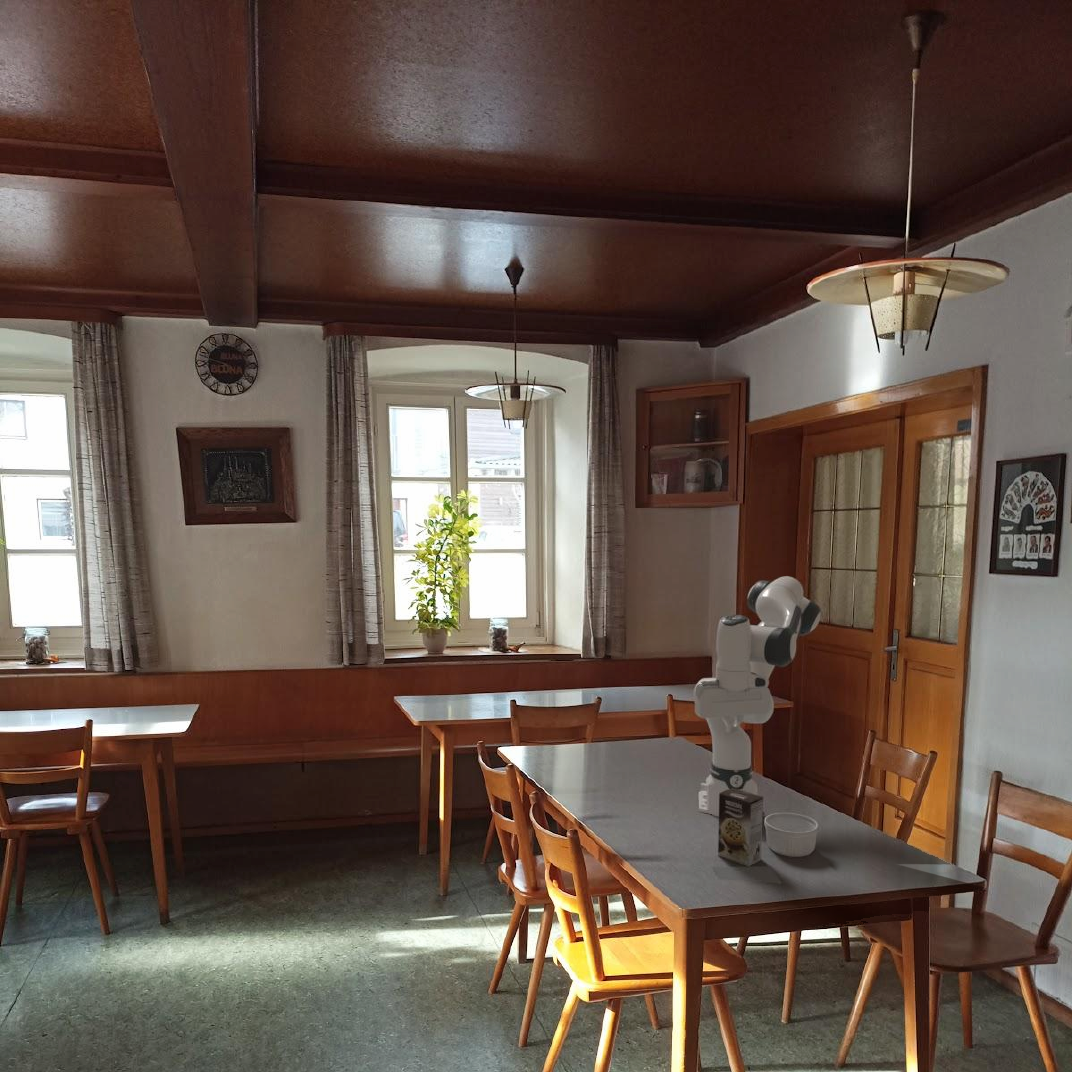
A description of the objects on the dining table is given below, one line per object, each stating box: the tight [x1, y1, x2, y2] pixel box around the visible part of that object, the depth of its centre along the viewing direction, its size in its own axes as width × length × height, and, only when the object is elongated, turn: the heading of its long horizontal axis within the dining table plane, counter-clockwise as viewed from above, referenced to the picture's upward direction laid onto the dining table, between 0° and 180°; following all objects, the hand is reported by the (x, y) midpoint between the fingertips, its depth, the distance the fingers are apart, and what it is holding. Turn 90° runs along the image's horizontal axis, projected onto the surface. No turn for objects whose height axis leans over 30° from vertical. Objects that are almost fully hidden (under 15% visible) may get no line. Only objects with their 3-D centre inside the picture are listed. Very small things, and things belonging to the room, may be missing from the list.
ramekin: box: [763, 812, 819, 858], centre depth 219 cm, size 13×13×7 cm
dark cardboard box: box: [717, 788, 764, 867], centre depth 213 cm, size 9×6×16 cm
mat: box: [712, 866, 783, 885], centre depth 202 cm, size 10×14×1 cm
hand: (732, 732), depth 221 cm, fingers closed
